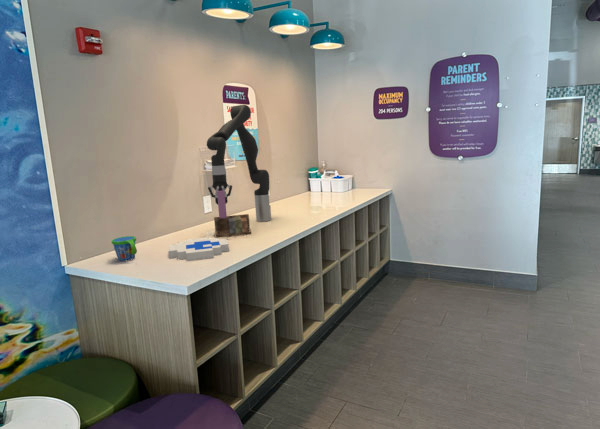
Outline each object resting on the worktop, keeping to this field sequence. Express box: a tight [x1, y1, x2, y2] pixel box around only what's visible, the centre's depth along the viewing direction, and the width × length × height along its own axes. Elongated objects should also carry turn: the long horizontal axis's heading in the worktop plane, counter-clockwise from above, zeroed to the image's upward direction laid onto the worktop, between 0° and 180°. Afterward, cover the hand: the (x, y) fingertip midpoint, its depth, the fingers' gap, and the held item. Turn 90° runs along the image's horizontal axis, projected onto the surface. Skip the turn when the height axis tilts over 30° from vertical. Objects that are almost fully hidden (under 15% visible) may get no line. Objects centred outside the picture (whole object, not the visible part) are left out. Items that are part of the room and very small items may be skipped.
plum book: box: [217, 190, 228, 218], centre depth 236 cm, size 4×10×15 cm, turn 12°
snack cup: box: [111, 235, 138, 262], centre depth 199 cm, size 16×10×10 cm
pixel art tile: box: [168, 236, 230, 262], centre depth 207 cm, size 28×4×28 cm
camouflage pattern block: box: [213, 213, 252, 239], centre depth 241 cm, size 20×12×10 cm, turn 102°
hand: (221, 203), depth 237 cm, fingers closed on plum book, 4 cm apart
